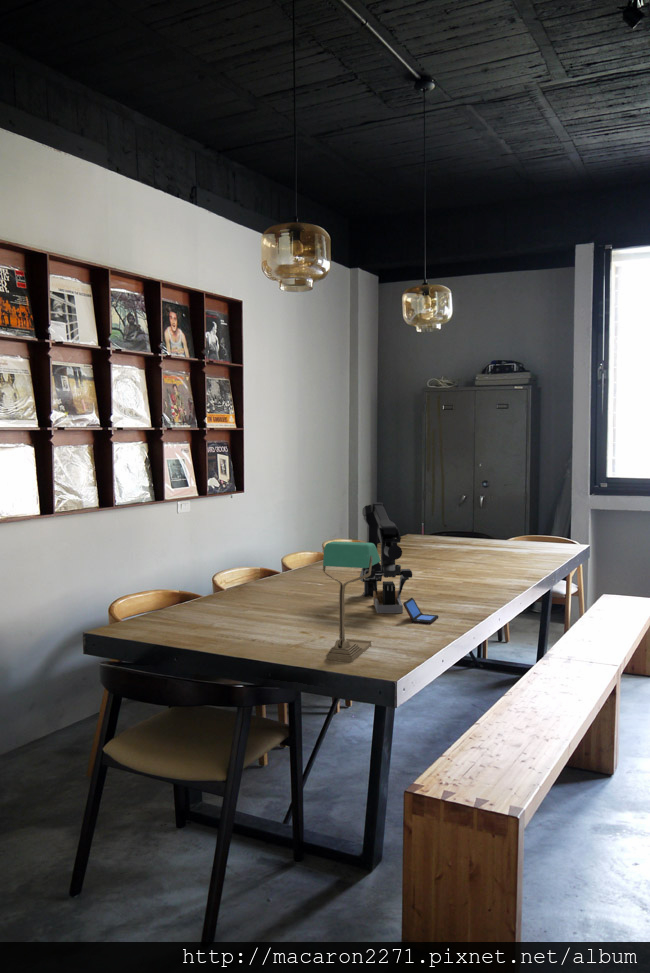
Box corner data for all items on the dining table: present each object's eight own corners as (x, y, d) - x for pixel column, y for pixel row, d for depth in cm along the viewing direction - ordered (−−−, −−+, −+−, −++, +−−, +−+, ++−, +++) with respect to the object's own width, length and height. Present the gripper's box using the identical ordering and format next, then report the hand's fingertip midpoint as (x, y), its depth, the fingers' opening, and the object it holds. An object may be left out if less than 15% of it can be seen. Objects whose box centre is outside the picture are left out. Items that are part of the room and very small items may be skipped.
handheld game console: (430, 625, 276) (430, 605, 276) (402, 623, 281) (402, 603, 280) (439, 618, 288) (439, 598, 287) (412, 615, 292) (412, 596, 292)
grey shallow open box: (374, 605, 310) (374, 598, 310) (398, 605, 310) (398, 598, 310) (377, 613, 296) (377, 605, 296) (402, 612, 296) (402, 605, 296)
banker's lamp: (315, 658, 234) (314, 546, 232) (338, 641, 254) (337, 538, 252) (363, 663, 229) (362, 548, 227) (383, 645, 248) (382, 539, 246)
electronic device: (392, 605, 308) (392, 580, 308) (395, 610, 298) (395, 585, 298) (382, 605, 308) (382, 581, 307) (384, 610, 298) (384, 585, 298)
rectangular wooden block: (400, 603, 312) (400, 590, 311) (400, 604, 310) (400, 591, 310) (373, 603, 311) (373, 590, 311) (373, 604, 310) (373, 591, 309)
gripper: (366, 559, 294) (366, 599, 295) (414, 558, 294) (414, 598, 295) (364, 555, 305) (364, 593, 306) (410, 554, 305) (410, 593, 306)
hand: (388, 594), depth 303 cm, fingers open, 9 cm apart
